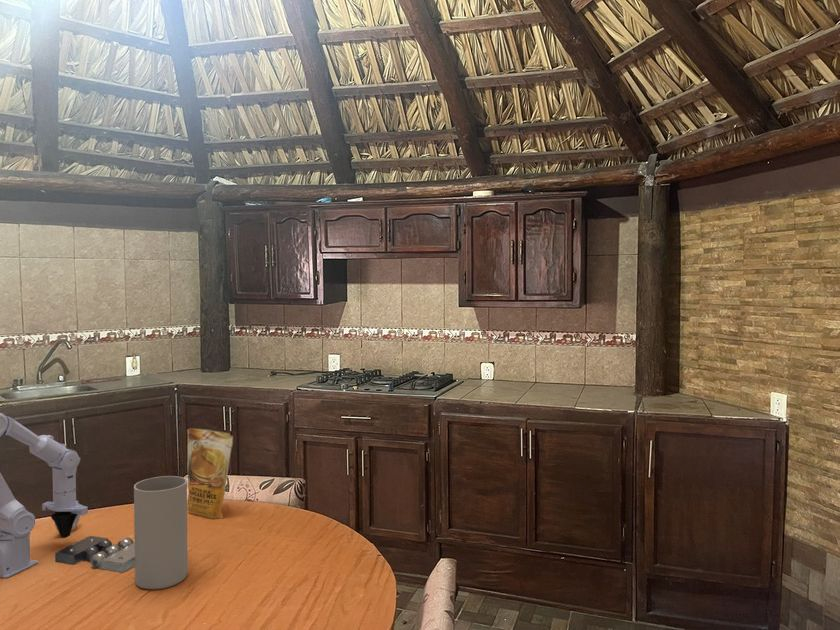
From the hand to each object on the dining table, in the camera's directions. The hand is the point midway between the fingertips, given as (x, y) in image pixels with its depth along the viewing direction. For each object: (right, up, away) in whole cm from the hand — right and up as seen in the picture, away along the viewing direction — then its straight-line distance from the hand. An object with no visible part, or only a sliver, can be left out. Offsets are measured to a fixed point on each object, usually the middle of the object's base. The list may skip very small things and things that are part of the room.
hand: (65, 536), depth 174 cm
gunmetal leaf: (+9, -3, -5) cm, 11 cm away
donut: (-6, -3, +11) cm, 13 cm away
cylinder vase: (+36, -4, -18) cm, 41 cm away
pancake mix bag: (+31, -3, +27) cm, 42 cm away
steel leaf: (+21, -4, -8) cm, 23 cm away
